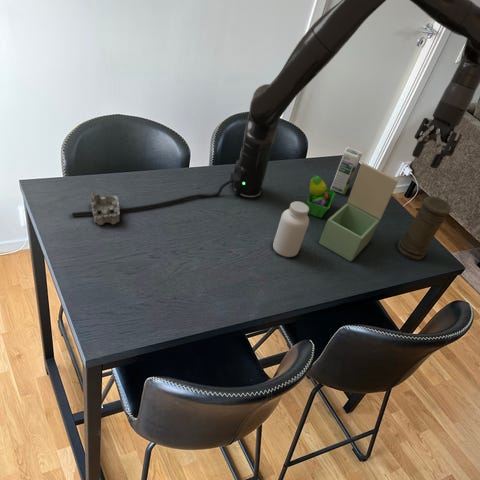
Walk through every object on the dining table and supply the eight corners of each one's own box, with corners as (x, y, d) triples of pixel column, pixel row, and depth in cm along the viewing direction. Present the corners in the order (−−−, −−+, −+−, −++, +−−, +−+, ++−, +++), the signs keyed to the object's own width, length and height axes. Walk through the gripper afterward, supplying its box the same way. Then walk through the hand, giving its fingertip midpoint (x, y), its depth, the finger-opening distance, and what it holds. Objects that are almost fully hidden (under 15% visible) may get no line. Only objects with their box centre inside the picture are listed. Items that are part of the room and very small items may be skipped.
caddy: (350, 261, 140) (362, 238, 133) (318, 242, 143) (327, 219, 136) (368, 242, 148) (380, 220, 142) (337, 225, 151) (347, 202, 145)
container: (424, 263, 146) (454, 216, 133) (397, 255, 146) (424, 207, 133) (422, 246, 153) (451, 200, 140) (396, 238, 153) (422, 191, 140)
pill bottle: (301, 246, 140) (316, 204, 129) (294, 261, 134) (310, 219, 124) (276, 237, 141) (289, 194, 130) (269, 251, 135) (282, 208, 124)
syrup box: (329, 189, 165) (343, 152, 155) (333, 182, 169) (347, 145, 159) (344, 195, 165) (359, 158, 154) (348, 188, 169) (363, 151, 158)
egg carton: (90, 202, 135) (90, 190, 132) (117, 203, 137) (117, 191, 134) (92, 225, 128) (91, 213, 125) (120, 225, 130) (120, 213, 127)
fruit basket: (324, 221, 151) (335, 192, 143) (298, 212, 152) (308, 182, 144) (330, 204, 159) (342, 175, 151) (306, 195, 160) (316, 166, 151)
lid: (397, 181, 129) (398, 180, 130) (361, 163, 132) (362, 162, 133) (380, 219, 141) (381, 218, 142) (347, 201, 144) (348, 200, 145)
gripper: (427, 93, 128) (400, 151, 137) (461, 107, 118) (429, 169, 127) (446, 99, 132) (418, 155, 140) (481, 114, 121) (449, 173, 130)
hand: (423, 162), depth 134 cm, fingers open, 8 cm apart
